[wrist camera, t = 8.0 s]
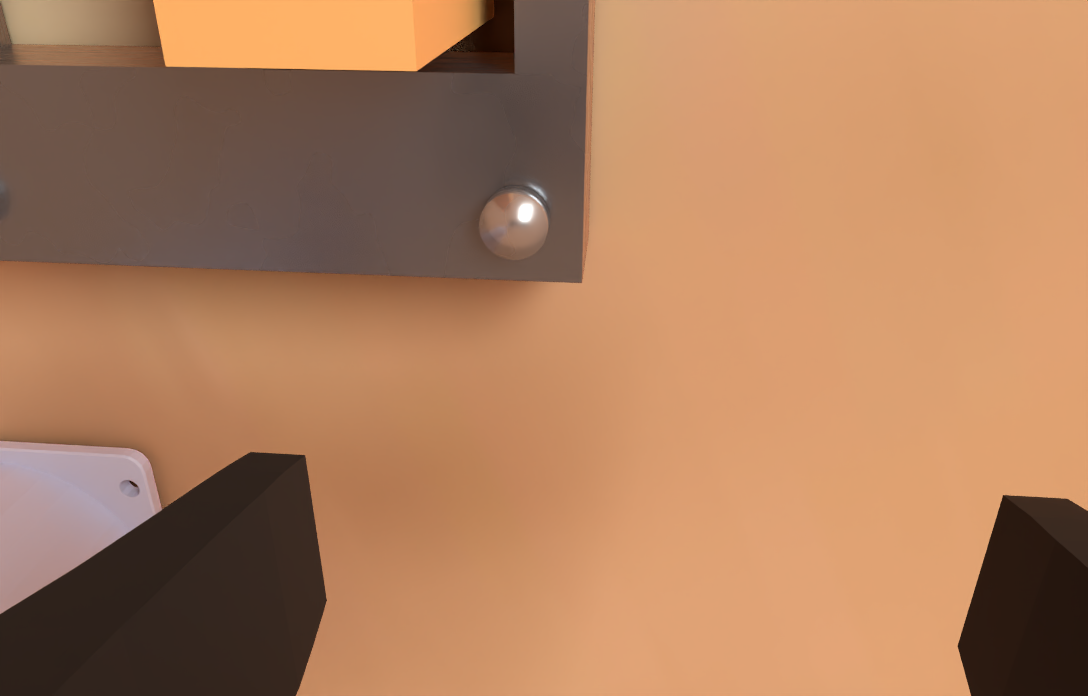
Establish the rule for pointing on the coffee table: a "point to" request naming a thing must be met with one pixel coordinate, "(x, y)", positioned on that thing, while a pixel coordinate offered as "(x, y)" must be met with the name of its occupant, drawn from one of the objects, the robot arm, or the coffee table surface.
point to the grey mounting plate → (305, 159)
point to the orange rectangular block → (314, 32)
